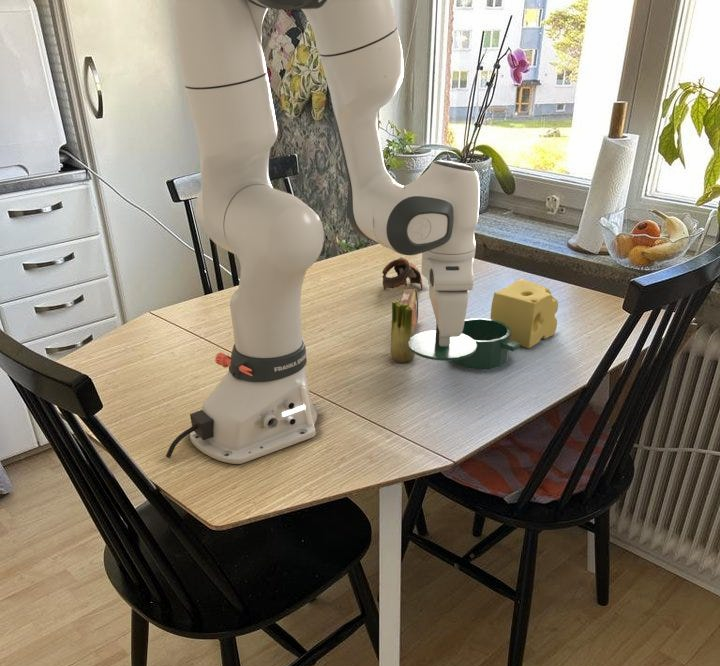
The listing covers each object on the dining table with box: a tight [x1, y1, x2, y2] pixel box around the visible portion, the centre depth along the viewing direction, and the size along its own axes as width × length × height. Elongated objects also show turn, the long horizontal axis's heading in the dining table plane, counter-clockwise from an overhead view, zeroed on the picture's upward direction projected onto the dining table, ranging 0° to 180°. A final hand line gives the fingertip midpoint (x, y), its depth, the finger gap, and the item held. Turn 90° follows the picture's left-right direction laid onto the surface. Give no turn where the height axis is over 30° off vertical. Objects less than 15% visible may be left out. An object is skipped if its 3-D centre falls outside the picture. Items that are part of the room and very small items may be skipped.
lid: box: [408, 322, 477, 362], centre depth 128 cm, size 12×12×5 cm
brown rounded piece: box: [381, 257, 424, 291], centre depth 176 cm, size 12×10×8 cm
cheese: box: [489, 278, 559, 349], centre depth 150 cm, size 10×11×10 cm
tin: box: [398, 288, 419, 334], centre depth 152 cm, size 15×3×8 cm, turn 168°
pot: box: [451, 317, 521, 370], centre depth 142 cm, size 11×17×6 cm
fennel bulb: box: [390, 300, 416, 364], centre depth 140 cm, size 6×5×12 cm
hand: (442, 340), depth 129 cm, fingers closed on lid, 2 cm apart
